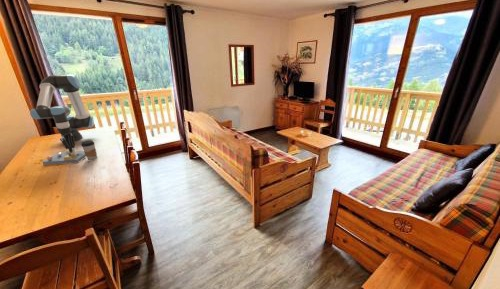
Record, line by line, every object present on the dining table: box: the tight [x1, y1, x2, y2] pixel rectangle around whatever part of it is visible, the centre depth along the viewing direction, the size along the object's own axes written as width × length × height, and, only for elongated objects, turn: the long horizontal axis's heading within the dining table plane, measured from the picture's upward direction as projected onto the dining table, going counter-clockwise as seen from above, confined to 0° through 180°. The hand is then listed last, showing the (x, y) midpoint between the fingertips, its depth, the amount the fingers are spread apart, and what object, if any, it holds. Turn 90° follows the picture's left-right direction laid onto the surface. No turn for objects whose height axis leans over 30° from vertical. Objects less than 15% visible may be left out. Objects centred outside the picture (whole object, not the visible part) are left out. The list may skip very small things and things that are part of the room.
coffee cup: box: [80, 139, 98, 162], centre depth 166 cm, size 8×8×15 cm
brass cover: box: [63, 154, 78, 161], centre depth 162 cm, size 6×6×4 cm
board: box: [42, 150, 87, 166], centre depth 169 cm, size 17×24×2 cm
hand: (73, 155), depth 166 cm, fingers closed
